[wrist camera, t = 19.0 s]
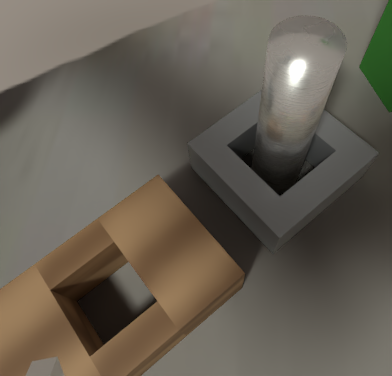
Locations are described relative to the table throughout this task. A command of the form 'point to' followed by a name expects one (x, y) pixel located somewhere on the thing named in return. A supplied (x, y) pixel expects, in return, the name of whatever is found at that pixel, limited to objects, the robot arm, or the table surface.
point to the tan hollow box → (99, 271)
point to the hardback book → (380, 59)
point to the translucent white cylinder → (294, 95)
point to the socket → (259, 191)
